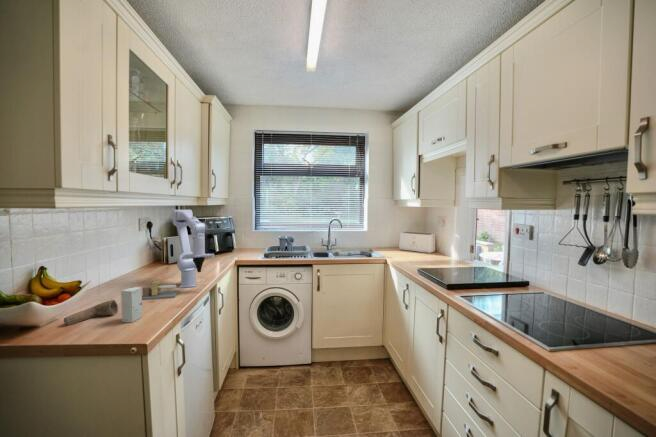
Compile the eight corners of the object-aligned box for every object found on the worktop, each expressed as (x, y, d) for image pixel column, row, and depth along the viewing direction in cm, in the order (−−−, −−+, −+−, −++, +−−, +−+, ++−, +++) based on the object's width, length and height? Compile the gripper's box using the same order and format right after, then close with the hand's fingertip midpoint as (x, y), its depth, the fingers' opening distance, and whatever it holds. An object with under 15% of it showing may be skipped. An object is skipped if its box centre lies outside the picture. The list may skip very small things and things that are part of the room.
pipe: (57, 313, 107) (78, 311, 104) (102, 299, 123) (120, 297, 121) (60, 330, 107) (80, 328, 104) (105, 314, 123) (123, 312, 121)
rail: (139, 300, 137) (139, 289, 137) (147, 294, 146) (146, 283, 146) (174, 297, 141) (174, 287, 140) (179, 291, 150) (179, 281, 150)
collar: (151, 295, 140) (151, 283, 140) (155, 292, 146) (155, 280, 145) (157, 295, 140) (157, 283, 140) (161, 291, 146) (160, 280, 146)
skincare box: (132, 322, 110) (131, 291, 110) (120, 322, 110) (120, 291, 110) (143, 316, 116) (142, 286, 116) (132, 316, 116) (131, 286, 116)
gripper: (181, 247, 144) (182, 274, 145) (212, 246, 148) (213, 272, 149) (184, 245, 151) (185, 271, 152) (214, 244, 155) (214, 269, 155)
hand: (199, 271), depth 151 cm, fingers closed
